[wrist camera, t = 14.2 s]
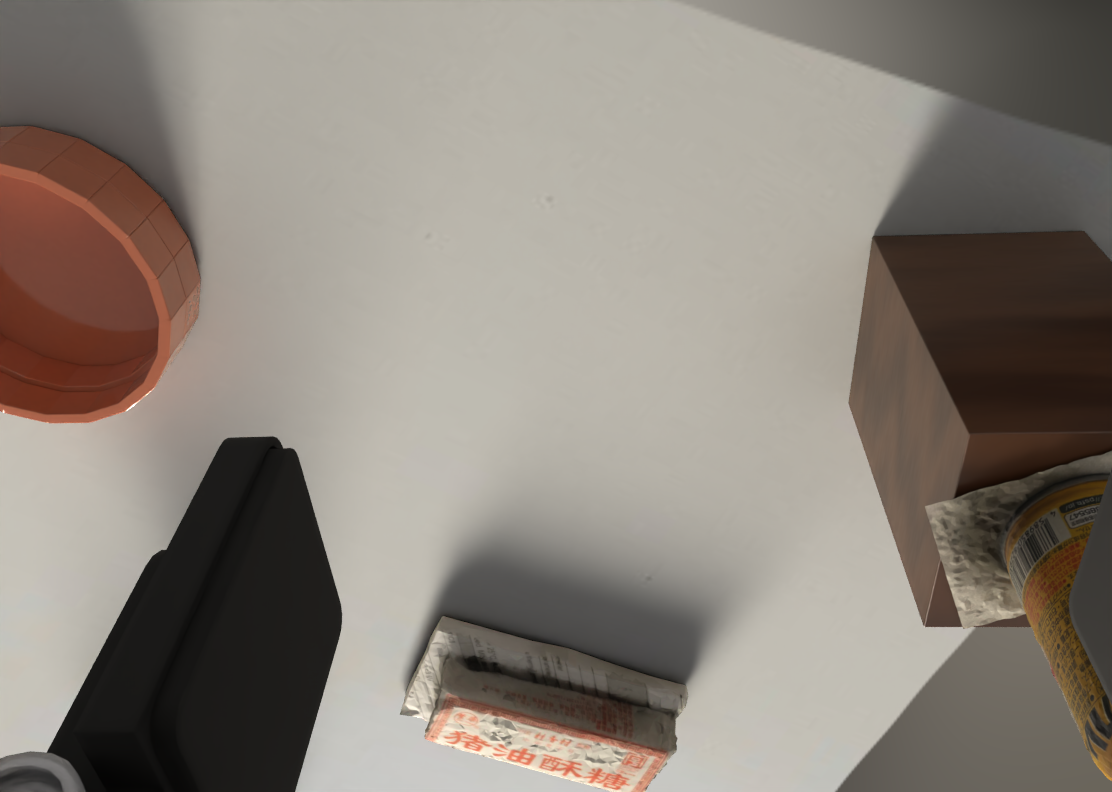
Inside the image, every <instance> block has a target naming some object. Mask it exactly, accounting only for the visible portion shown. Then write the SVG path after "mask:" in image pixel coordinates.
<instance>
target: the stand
mask: <svg viewBox="0 0 1112 792" xmlns="http://www.w3.org/2000/svg"><path fill="white" fill-rule="evenodd" d="M849 406H850V409H851V412H852V415H853V418H854V421H855V424H856V426H857V429H858V432H859V435H860V438H861V441H862V444H863V447H864V450H865V453H866V456H867V459H868V462H869V465H870V468H871V471H872V474H873V477H874V480H875V483H876V486H877V489H878V492H879V495H880V498H881V501H882V504H883V507H884V510H885V512H886V515H887V518H888V521H889V524H890V527H891V530H892V533H893V536H894V539H895V542H896V545H897V548H898V551H899V554H900V557H901V560H902V563H903V566H904V569H905V572H906V575H907V578H908V581H909V584H910V587H911V590H912V593H913V596H914V599H915V601H916V604H917V607H918V610H919V613H920V616H921V619H922V622H923V625H924V627H962V624H961V620H960V617H959V614H958V611H957V608H956V605H955V602H954V598H953V595H952V591H951V589H950V586H949V583H948V580H947V577H946V573H945V570H944V567H943V564H942V560H941V557H940V554H939V551H938V547H937V544H936V541H935V538H934V535H933V532H932V528H931V525H930V522H929V519H928V516H927V512H926V509H925V506H928V505H932V504H935V503H939V502H942V501H947V500H952V499H955V498H957V497H960V496H962V495H965V494H967V493H970V492H973V491H976V490H979V489H983V488H986V487H991V486H996V485H999V484H1002V483H1005V482H1009V481H1017V480H1021V479H1024V478H1026V477H1029V476H1031V475H1033V474H1035V473H1037V472H1043V471H1046V470H1049V469H1051V468H1054V467H1057V466H1060V465H1068V464H1069V463H1071V462H1074V461H1077V460H1081V459H1084V458H1088V457H1091V456H1099V455H1103V454H1105V453H1107V452H1110V451H1112V261H1111V260H1110V259H1109V258H1108V257H1107V256H1106V255H1105V254H1104V252H1103V251H1102V250H1101V249H1100V248H1099V247H1098V246H1097V245H1096V244H1095V242H1094V241H1093V240H1092V239H1091V238H1090V237H1089V236H1088V235H1087V234H1086V232H1085V231H1068V232H1029V233H989V234H949V235H910V236H873V238H872V244H871V251H870V258H869V265H868V272H867V279H866V286H865V293H864V300H863V307H862V314H861V321H860V328H859V335H858V342H857V348H856V355H855V362H854V369H853V376H852V383H851V390H850V397H849ZM973 627H1031V625H1030V623H1029V621H1028V619H1027V615H1026V614H1023V615H1021V616H1018V617H1016V618H1011V619H1002V620H997V621H995V622H992V623H989V624H985V625H981V626H973Z"/></svg>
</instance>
